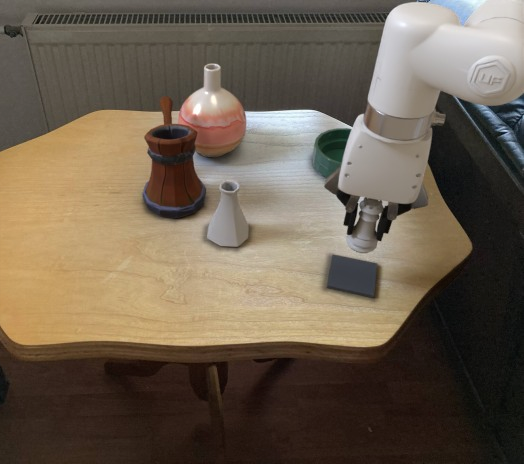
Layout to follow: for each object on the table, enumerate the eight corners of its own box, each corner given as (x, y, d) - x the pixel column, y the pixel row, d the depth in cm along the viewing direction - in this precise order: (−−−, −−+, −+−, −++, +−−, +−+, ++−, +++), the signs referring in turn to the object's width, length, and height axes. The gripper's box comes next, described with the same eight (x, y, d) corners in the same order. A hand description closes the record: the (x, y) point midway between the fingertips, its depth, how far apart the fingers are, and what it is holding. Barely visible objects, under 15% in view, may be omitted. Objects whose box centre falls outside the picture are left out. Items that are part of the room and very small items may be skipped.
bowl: (381, 153, 105) (386, 134, 102) (377, 191, 95) (383, 171, 92) (316, 142, 107) (319, 124, 104) (307, 178, 98) (310, 159, 95)
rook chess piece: (375, 235, 76) (388, 193, 70) (377, 256, 73) (391, 213, 67) (345, 232, 76) (355, 189, 71) (345, 252, 73) (356, 209, 68)
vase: (248, 166, 101) (254, 82, 89) (179, 168, 100) (175, 84, 88) (241, 130, 111) (245, 50, 99) (178, 132, 110) (174, 52, 98)
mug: (140, 163, 101) (133, 93, 91) (198, 159, 103) (197, 89, 93) (144, 222, 88) (135, 148, 78) (210, 217, 89) (210, 143, 79)
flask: (199, 241, 85) (199, 193, 78) (216, 215, 90) (216, 168, 83) (240, 253, 83) (243, 205, 76) (255, 225, 88) (259, 178, 81)
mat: (376, 265, 81) (377, 263, 81) (373, 298, 76) (374, 295, 76) (332, 256, 82) (332, 254, 82) (326, 288, 77) (327, 285, 77)
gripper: (468, 112, 62) (424, 226, 74) (330, 92, 65) (310, 204, 77) (473, 145, 56) (425, 262, 69) (322, 121, 60) (302, 237, 72)
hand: (364, 230), depth 73 cm, fingers closed on rook chess piece, 3 cm apart
